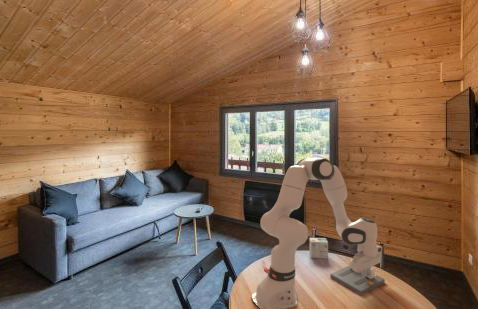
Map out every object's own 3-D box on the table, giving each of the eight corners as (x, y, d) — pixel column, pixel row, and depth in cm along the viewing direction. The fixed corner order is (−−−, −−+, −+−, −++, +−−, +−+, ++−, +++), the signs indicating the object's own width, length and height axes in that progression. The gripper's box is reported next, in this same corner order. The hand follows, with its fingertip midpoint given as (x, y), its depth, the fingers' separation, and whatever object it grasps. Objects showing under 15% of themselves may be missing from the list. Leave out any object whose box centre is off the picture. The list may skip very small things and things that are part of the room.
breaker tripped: (371, 279, 132) (371, 270, 131) (364, 275, 135) (365, 267, 134) (374, 277, 133) (374, 269, 133) (368, 274, 136) (368, 266, 136)
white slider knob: (355, 270, 140) (355, 263, 139) (350, 268, 142) (350, 260, 142) (359, 269, 141) (359, 261, 141) (353, 266, 144) (353, 259, 144)
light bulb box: (325, 253, 164) (326, 237, 163) (328, 259, 158) (328, 242, 157) (308, 253, 165) (309, 237, 164) (310, 258, 159) (311, 241, 158)
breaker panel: (361, 295, 122) (361, 290, 122) (330, 277, 138) (330, 273, 138) (384, 282, 133) (384, 278, 132) (353, 267, 148) (353, 263, 148)
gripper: (360, 257, 123) (359, 284, 124) (384, 247, 133) (383, 272, 134) (348, 251, 128) (347, 278, 129) (372, 242, 139) (371, 266, 140)
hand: (366, 275), depth 132 cm, fingers closed
